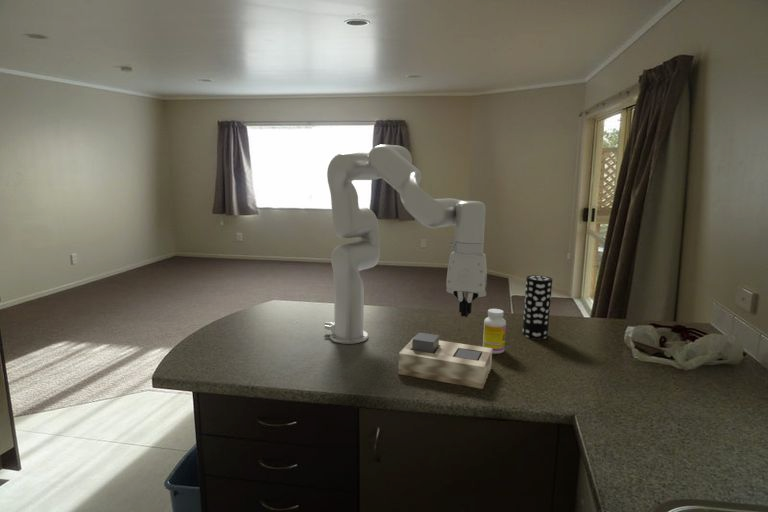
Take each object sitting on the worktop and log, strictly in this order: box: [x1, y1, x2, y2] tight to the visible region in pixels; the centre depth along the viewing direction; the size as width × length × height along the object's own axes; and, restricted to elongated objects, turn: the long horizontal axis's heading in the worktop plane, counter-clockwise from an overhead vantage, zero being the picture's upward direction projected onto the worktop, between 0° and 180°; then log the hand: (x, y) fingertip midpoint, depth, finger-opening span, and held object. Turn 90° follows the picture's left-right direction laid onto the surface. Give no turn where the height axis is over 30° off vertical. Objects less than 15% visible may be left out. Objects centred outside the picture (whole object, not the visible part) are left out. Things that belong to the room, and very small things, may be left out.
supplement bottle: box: [482, 308, 507, 355], centre depth 148 cm, size 7×7×13 cm
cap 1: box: [411, 332, 440, 354], centre depth 134 cm, size 6×6×4 cm
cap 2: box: [455, 349, 481, 361], centre depth 131 cm, size 6×6×4 cm
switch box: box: [397, 339, 493, 390], centre depth 133 cm, size 23×14×6 cm, turn 69°
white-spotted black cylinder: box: [522, 274, 553, 340], centre depth 162 cm, size 8×8×20 cm
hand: (465, 315), depth 129 cm, fingers closed
